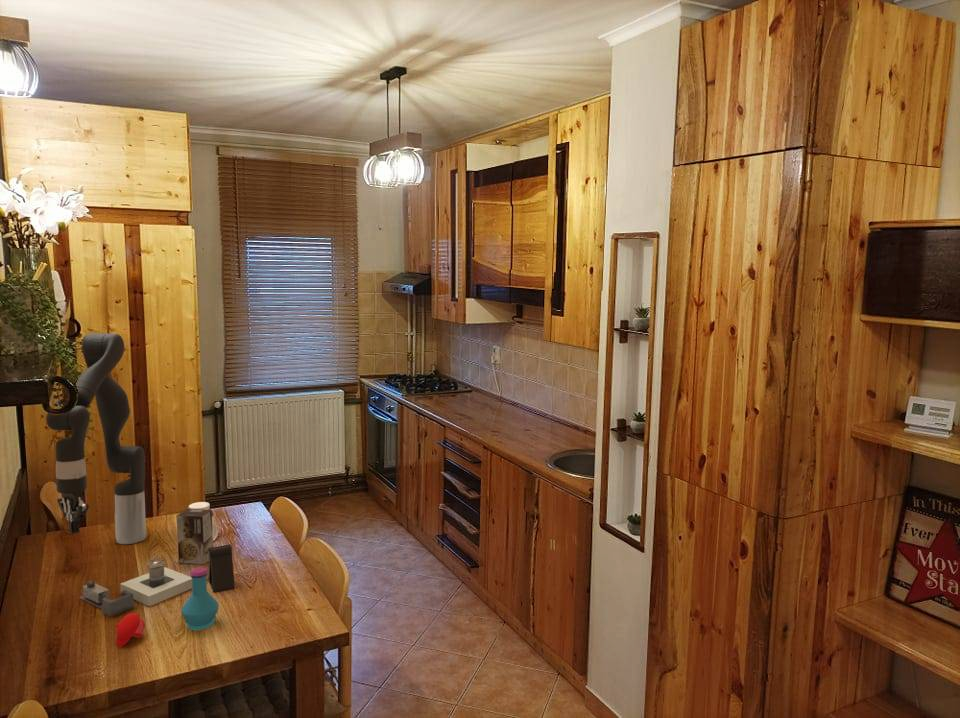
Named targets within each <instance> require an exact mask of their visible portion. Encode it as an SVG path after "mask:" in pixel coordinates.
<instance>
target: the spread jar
mask: <svg viewBox="0 0 960 718" xmlns="http://www.w3.org/2000/svg"><path fill="white" fill-rule="evenodd" d="M210 506H211V505H210V503H209V502H207V501H198V502H197V501H196V502H194V503H190V504H189V505H188V509H200V510H212V509H211V508H210ZM218 534H219V529H218V527H217V525H216V524H215V516H214V512H213V510H212V536H213V541H215V540H216V538H217V537H218Z"/></svg>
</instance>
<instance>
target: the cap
mask: <svg viewBox="0 0 960 718" xmlns="http://www.w3.org/2000/svg"><path fill="white" fill-rule="evenodd" d="M145 626H146V624H145V621H144V619H142V618H141V617H140V614H137V613H134V612H131V613H129V614H126V615H124V616H123V618H122V619H121V620H120V621H119V622H118V623H117V624H116V632H115V633H116V640H115V643H116V646H117V647H118V648H121V647H123V646H126V645H127V643H128V642H129V641H130V639H131V637H136V638H138V639H142V637H143V635H144V631H145Z"/></svg>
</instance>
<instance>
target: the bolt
mask: <svg viewBox="0 0 960 718" xmlns="http://www.w3.org/2000/svg"><path fill="white" fill-rule="evenodd" d="M82 596H84V597H86V598H88V599H90V600H92V601H94V602H96V603H98V604H100V603H102V599H103V598H107V599H110V590H109V589H108V588H107V587H104V586H102V585H99V584H98V583H96V581H95V580H94V579H93V580H88V581H86V584H85V585H82Z"/></svg>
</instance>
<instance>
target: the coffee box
mask: <svg viewBox="0 0 960 718" xmlns="http://www.w3.org/2000/svg"><path fill="white" fill-rule="evenodd" d="M212 511H213V510H212V509H211V510H200V509H189V508H186V509H184V510H182V511H181V512H179V513H178V514H177V515H175V516H176V517H175V518H176V532H177V533H176V534H177V553H178V554H177V555H178V556H177V557H178V563H179V564H194V565H195V564H197V565H205V564H207V563H208V562H209V548H212V547H214V544H213V543H214V542H213V536H212Z"/></svg>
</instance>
